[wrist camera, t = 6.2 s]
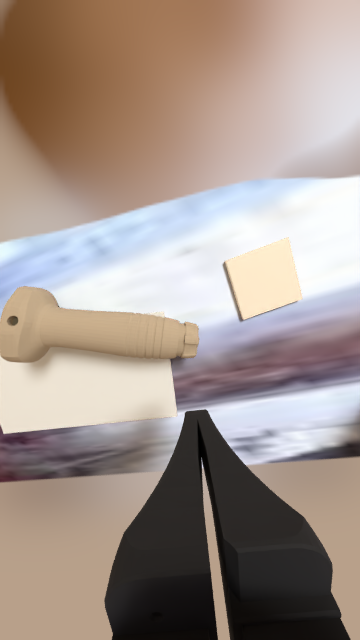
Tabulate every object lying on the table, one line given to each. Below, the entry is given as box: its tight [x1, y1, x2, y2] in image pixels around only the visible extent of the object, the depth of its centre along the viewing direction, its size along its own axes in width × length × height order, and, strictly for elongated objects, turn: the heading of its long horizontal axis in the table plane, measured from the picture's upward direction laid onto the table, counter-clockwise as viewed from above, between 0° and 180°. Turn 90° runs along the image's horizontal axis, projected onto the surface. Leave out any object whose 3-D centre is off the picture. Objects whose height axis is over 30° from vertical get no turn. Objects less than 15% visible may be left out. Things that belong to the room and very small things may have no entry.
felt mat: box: [0, 312, 177, 434], centre depth 20 cm, size 20×12×1 cm, turn 96°
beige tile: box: [225, 237, 302, 320], centre depth 18 cm, size 6×6×1 cm
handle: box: [0, 286, 199, 363], centre depth 16 cm, size 5×6×15 cm
